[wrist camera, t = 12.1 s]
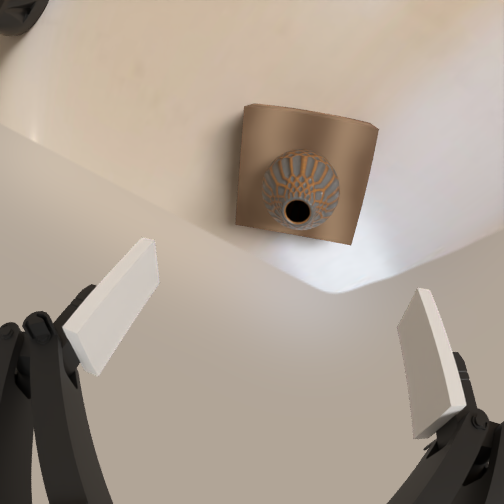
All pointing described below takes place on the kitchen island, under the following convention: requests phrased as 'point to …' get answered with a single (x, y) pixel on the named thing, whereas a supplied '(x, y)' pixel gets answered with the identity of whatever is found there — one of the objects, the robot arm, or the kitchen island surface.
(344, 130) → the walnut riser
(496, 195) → the kitchen island surface
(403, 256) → the kitchen island surface
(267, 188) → the vase
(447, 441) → the robot arm
